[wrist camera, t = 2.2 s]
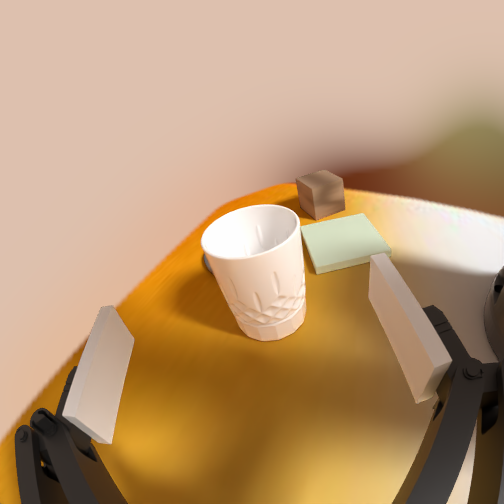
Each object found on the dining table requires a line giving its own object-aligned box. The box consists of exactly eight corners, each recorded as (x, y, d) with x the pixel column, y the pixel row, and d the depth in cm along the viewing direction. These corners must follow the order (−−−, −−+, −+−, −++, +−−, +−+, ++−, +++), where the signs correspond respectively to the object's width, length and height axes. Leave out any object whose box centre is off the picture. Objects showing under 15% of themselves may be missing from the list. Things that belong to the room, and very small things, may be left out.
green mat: (363, 219, 39) (363, 213, 39) (390, 256, 32) (391, 249, 31) (300, 233, 40) (299, 226, 39) (316, 274, 32) (315, 267, 32)
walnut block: (327, 198, 47) (324, 169, 44) (345, 210, 42) (342, 178, 40) (300, 208, 46) (295, 178, 43) (316, 220, 42) (311, 188, 39)
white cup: (229, 299, 32) (201, 219, 27) (300, 280, 32) (285, 196, 27) (237, 356, 26) (200, 270, 20) (322, 333, 26) (313, 240, 20)
